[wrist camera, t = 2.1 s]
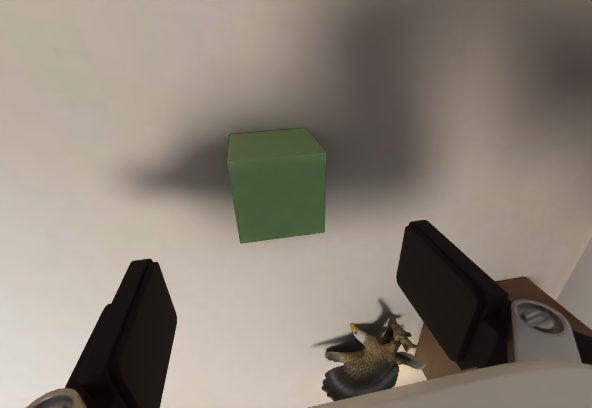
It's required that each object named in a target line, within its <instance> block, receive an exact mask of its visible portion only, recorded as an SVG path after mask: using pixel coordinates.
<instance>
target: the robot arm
mask: <svg viewBox="0 0 592 408" xmlns="http://www.w3.org/2000/svg"><path fill="white" fill-rule="evenodd" d="M396 278H397V283H398V285H399V287H400V288H401V290H402V291H403V293H404V294H405V295H406V297H407V298H408V300H409V301H410V303H411V304H412V306H413V307H414V308H415V310H416V311H417V313H418V314H419V316H420V317H421V319H422V320H423V322H424V323H425V324H426V326H427V327H428V329H429V330H430V332H431V333H432V335H433V336H434V338H435V339H436V340H437V342H438V343H439V345H440V346H441V348H442V349H443V351H444V352H445V354H446V355H447V356H448V358H449V359H450V360H451V361H453V362H454V361H455V362H456V364H457V365H458V367H459V368H460V369H461V371H462V370H466V369H470V368H475V367H476V366H477V367H478V369H477V370H472V371H467V372H462V373H457V374H453V375H449V376H444V377H440V378H435V379H431V380H426V381H422V382H418V383H413V384H409V385H404V386H400V387H395V388H391V389H387V390H382V391H378V392H374V393H369V394H365V395H361V396H356V397H352V398H348V399H343V400H339V401H335V402H330V403H326V404H322V405H317V406H313V407H309V408H592V337H590V336H587V335H584V334H582V333H579V332H576V331H573V330H572V328H571V326H570V324H569V322H568V320H567V319H566V318H565V317H564V316H563V315H562V314H561V313H560V312H558V311H557V310H556V309H554V308H552V307H551V306H549V305H547V304H545V303H542V302H540V301H537V300H532V299H517V300H515V301H514V302H513V303H512V302H511V301H510V300H509V299H508V296H509V294H508V293H507V292H506V291H505V290H504V289H502V288H501V287H500V286H499V285H498V284H497V283H496V282H495V281H494V280H492V279H491V278H490V277H489V276H488V275H487V274H486V273H485V272H484V271H483V270H481V269H480V268H479V267H478V266H477V265H476V264H475V263H474V262H473V261H471V260H470V259H469V258H468V257H467V256H466V255H465V254H464V253H463V252H461V251H460V250H459V249H458V248H457V247H456V246H455V245H454V244H453V243H452V242H450V241H449V240H448V239H447V238H446V237H445V236H444V235H443V234H442V233H440V232H439V231H438V230H437V229H436V228H435V227H434V226H433V225H432V224H430V223H429V222H428V221H427V220H420V221H413V222H410V223H409V226H407V227H406V228H405V233H404V238H403V243H402V249H401V254H400V260H399V265H398V271H397V276H396ZM176 325H177V316H176V312H175V309H174V306H173V303H172V301H171V298H170V295H169V292H168V289H167V286H166V283H165V281H164V278H163V275H162V272H161V269H160V266H159V264H158V262H153V261H152V260H151V259H144V260H136V261H132V262H131V263H130V265H129V267H128V270H127V272H126V274H125V276H124V278H123V280H122V282H121V284H120V286H119V289H118V291H117V293H116V295H115V297H114V299H113V301H112V303H111V304H108V305H107V306H106V307H105V308H104V310H103V312H102V314H101V316H100V318H99V320H98V322H97V324H96V326H95V328H94V330H93V332H92V334H91V336H90V338H89V340H88V342H87V344H86V346H85V348H84V350H83V352H82V354H81V356H80V358H79V360H78V362H77V364H76V366H75V368H74V370H73V372H72V374H71V376H70V378H69V381H68V383H67V385H66V387H65V388H63V389H57V390H54V391H51V392H49V393H46V394H45V395H43V396H41V397H40V398H38V399H36V400H35V401H34V402H32V403H31V404H30V405H29V406H27V407H26V408H160V403H161V398H162V393H163V389H164V384H165V379H166V374H167V369H168V364H169V359H170V354H171V349H172V345H173V340H174V335H175V330H176Z"/></svg>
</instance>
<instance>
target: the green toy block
mask: <svg viewBox="0 0 592 408" xmlns="http://www.w3.org/2000/svg"><path fill="white" fill-rule="evenodd" d="M227 165H228V171H229V178H230V184H231V190H232V196H233V202H234V209H235V215H236V221H237V227H238V233H239V239H240V243H248V242H256V241H263V240H271V239H278V238H286V237H294V236H301V235H309V234H316V233H324V232H325V190H326V152H325V151H324V149H323V148H322V147H321V146H320V144H319V143H318V142H317V141H316V139H315V138H314V137H313V136H312V135H311V133H310V132H309V131H308V130H307V128H299V129H287V130H275V131H262V132H250V133H237V134H230V135H229V146H228V157H227Z"/></svg>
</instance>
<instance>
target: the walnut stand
mask: <svg viewBox="0 0 592 408" xmlns="http://www.w3.org/2000/svg"><path fill="white" fill-rule="evenodd" d="M496 283H497V284H498V285H499V286H500V287H501V288H502V289H504V290H505V291H506V292H507V293H508V294H509V296H508V299H509V300H510V301H511V302H512V303H513V302H514V301H515V300H517V299H532V300H537V301H540V302H542V303H545V304H547V305H549V306H551V307H552V308H554V309H556V310H557V311H558V312H560V313H561V314H562V315H563V316H564V317H565V318H566V319H567V320H568V322H569V324H570V326H571V328H572V330H573V331H576V332H579V333H582V334H584V335H587V336H590V337H592V330H591V329H589V328H588V327H587V326H586V325H584V324H583V323H582V322H581V321H580V320H578V319H577V318H576V317H574V316H573V315H572V314H571V313H569V312H568V311H567V310H566V309H565V308H563V307H562V306H561V305H560V304H558V303H557V302H556V301H555V300H554V299H552V298H551V297H550V296H549V295H547V294H546V293H545V292H544V291H542V290H541V289H540V288H539V287H538V286H536V285H535V284H534V283H533V282H531V281H530V280H529V279H528V278H526V277H523V278H517V279H511V280H505V281H499V282H496ZM418 346H421V348H417V351H416V354H415V356H416V357H419V358H420V359H421V360H422V361H424V362H425V363H426V366H425V367H424V368H422V371H423V373H424V375H425V376H426V378H427V380H431V379H435V378H440V377H444V376H449V375H453V374H457V373H462V372H467V371H472V370H477V369H478V367H477V366H476V367H475V368H470V369H466V370H462V371H461V369H460V368H459V367H458V365H457V364H456V362H455V361H454V362H453V361H451V360H450V359H449V358H448V356H447V355H446V354H445V352H444V351H443V349H442V348H441V346H440V345H439V343H438V342H437V340H436V339H435V338H434V336H433V335H432V333H431V332H430V330H429V329H428V327H427V326H426V324H425V323H424V326H423V330H422V333H421V337H420V340H419V344H418Z"/></svg>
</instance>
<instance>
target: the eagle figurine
mask: <svg viewBox="0 0 592 408" xmlns="http://www.w3.org/2000/svg"><path fill="white" fill-rule="evenodd" d="M351 329H352V332H353V334H354V336H355V337H356V338H357V339H358V340H359V341H360V342H361V343H362V344H363V345H364V346H365V347H364V348H363V349H362V350H360V351H357V352H345V353H344V352H334V351H327V353H326V354H325V355H326V358H328V360H333V361H334V362H342V363H345V364H344V365H343V366H340V367H336V368H333V369H331V370H330V371H328V372H327V373H326V374H325V377H326V379H325V380H323V386H322V390H323V391H325V392H327V396H328V397H330V398H332V400H333V401H339V400H343V399H348V398H352V397H356V396H361V395H365V394H369V393H374V392H378V391H382V390H387V389H391V388H392V387H394V386H395V384H396V381H397V377H398V372H399V366H398V365H401V364H404V365H408V366H410V367H412V368H415V369H422V368H424V367H425V366H426V363H425V362H424V361H422V360H421V359H420V358H419V357H416V356H413V355H411V354H409V353H407V352H408V350H409V349H410V348H421V346H418V345H414V344H412V343H411V341H410V340H409V339H408V338H407V337H411V333H409V332H406V331H404V330H403V329H402V328H401V327H400V326H399V325H398V324H397V322H396V319H395V317H394V316H393V315H392V317H390V320H389V322H388V328H387V331H386V333H385V334H384V336H383V337H382V338H381V339H378V338H376V337H374V336H372V335H370V334H367V333H365V332H363V331H361V330H360V329H358V328H357V327H355V326H354V324H353V323H352V324H351ZM406 336H407V337H406ZM401 344H402V345H403V347H404V349H405V351H406V352H397V350H398V348H399V347H400V345H401Z"/></svg>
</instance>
